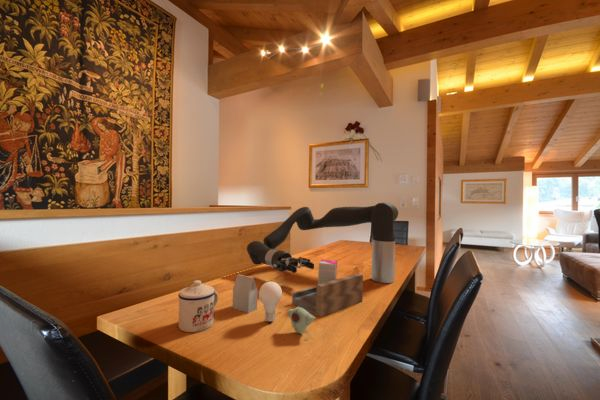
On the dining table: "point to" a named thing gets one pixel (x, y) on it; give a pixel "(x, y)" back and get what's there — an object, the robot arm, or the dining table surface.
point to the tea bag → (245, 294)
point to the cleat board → (330, 295)
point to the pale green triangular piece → (300, 319)
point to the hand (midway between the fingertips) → (305, 267)
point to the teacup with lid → (196, 307)
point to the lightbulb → (270, 299)
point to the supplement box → (327, 271)
